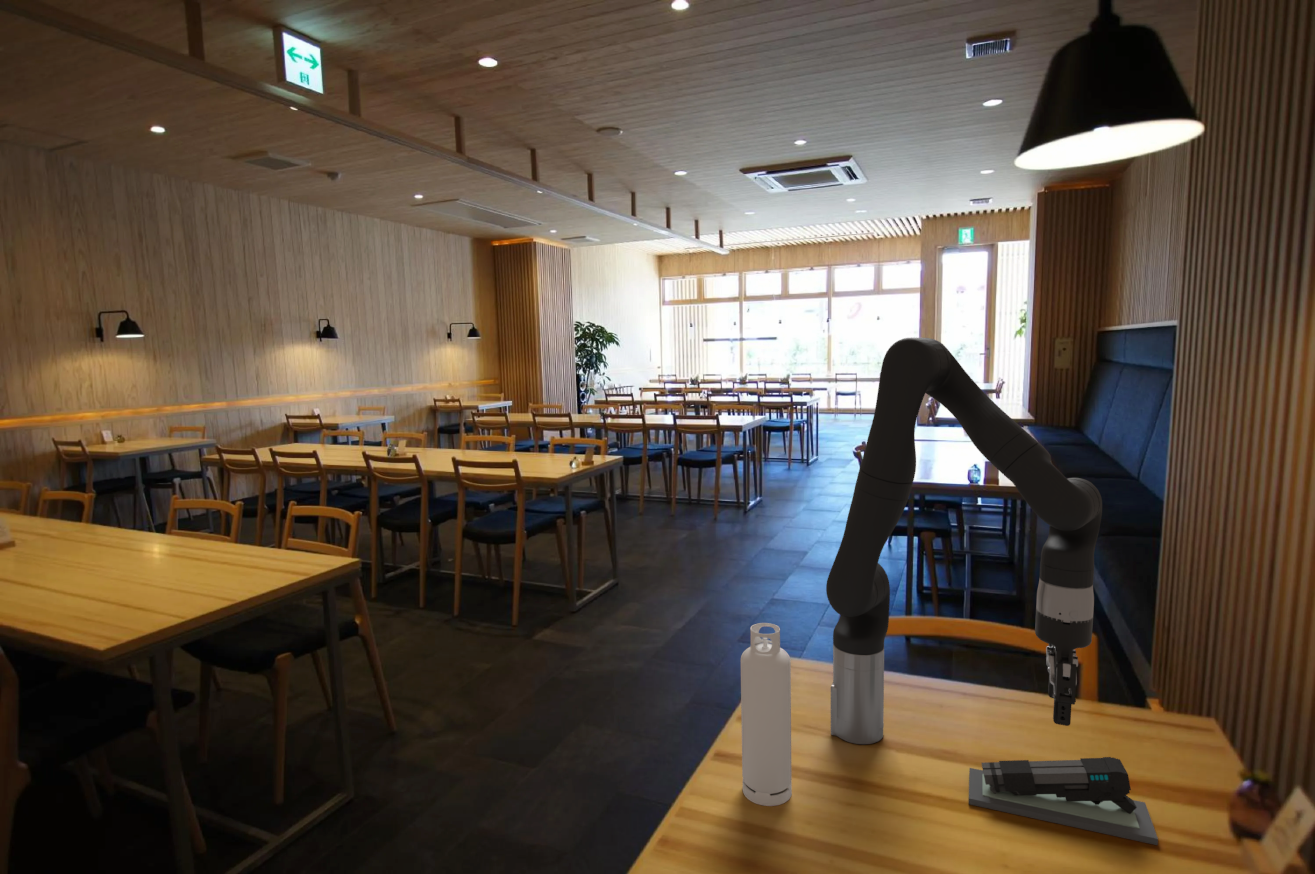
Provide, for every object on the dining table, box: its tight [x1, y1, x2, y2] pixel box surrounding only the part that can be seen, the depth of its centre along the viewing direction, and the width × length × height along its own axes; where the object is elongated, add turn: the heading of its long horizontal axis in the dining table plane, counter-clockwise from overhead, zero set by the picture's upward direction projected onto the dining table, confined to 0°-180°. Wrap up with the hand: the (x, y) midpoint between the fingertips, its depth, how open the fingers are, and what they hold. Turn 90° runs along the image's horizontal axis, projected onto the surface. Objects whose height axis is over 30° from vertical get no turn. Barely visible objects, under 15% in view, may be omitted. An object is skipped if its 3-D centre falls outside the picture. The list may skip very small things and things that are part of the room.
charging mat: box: [968, 767, 1159, 846], centre depth 111 cm, size 25×9×1 cm, turn 65°
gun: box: [981, 756, 1137, 814], centre depth 111 cm, size 4×20×10 cm, turn 72°
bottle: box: [740, 622, 793, 807], centre depth 116 cm, size 8×8×28 cm
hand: (1058, 710), depth 109 cm, fingers open, 8 cm apart
